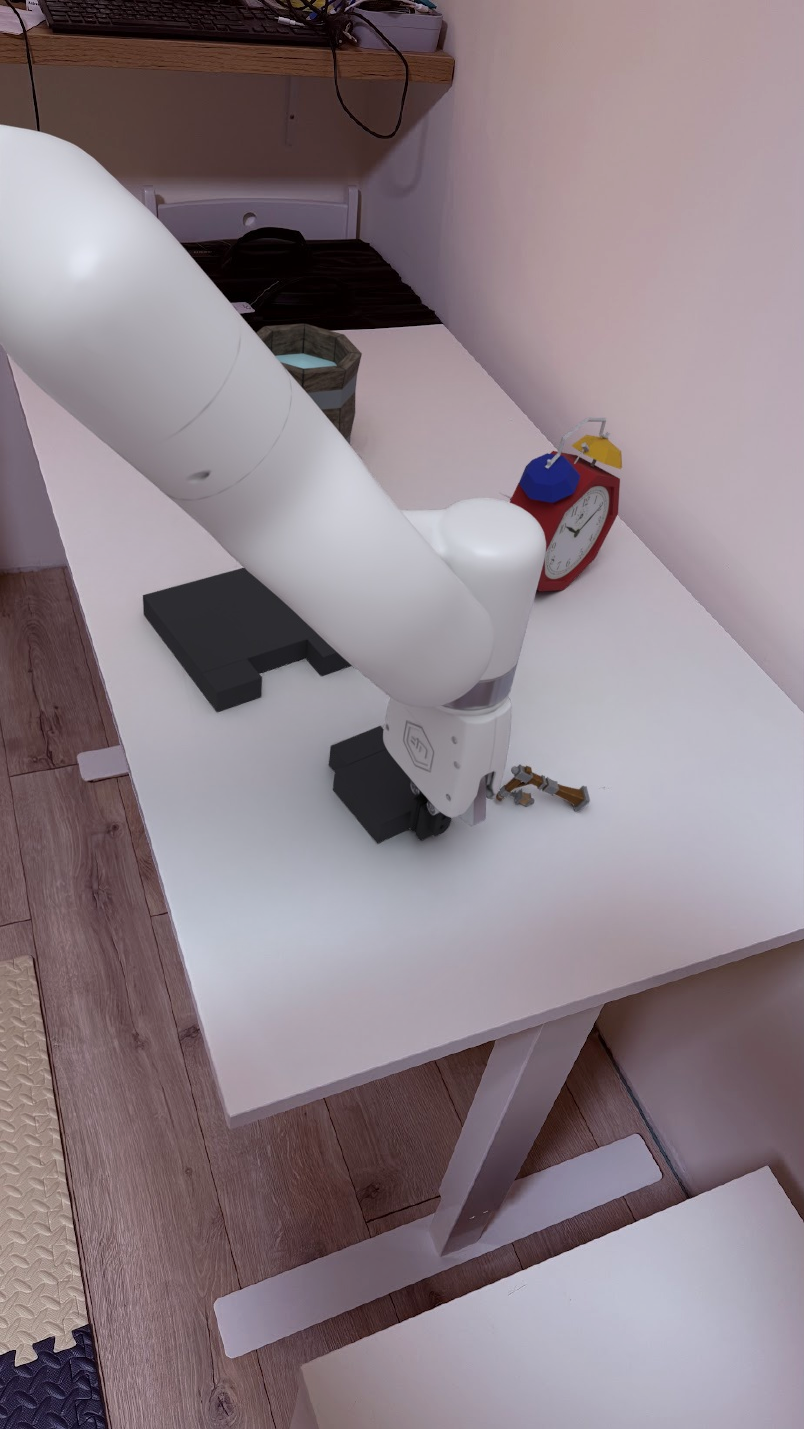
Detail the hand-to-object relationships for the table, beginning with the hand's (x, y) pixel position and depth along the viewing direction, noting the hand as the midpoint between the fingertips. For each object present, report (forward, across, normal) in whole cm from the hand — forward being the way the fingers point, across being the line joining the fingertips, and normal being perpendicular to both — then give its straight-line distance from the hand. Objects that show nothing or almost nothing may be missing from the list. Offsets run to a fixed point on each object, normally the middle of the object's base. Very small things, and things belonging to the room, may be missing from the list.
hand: (428, 828), depth 85 cm
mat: (+1, -30, -1) cm, 30 cm away
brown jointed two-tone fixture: (+2, +2, +11) cm, 12 cm away
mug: (+2, -55, +19) cm, 58 cm away
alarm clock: (+2, -26, +34) cm, 43 cm away
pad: (+1, -6, 0) cm, 6 cm away
